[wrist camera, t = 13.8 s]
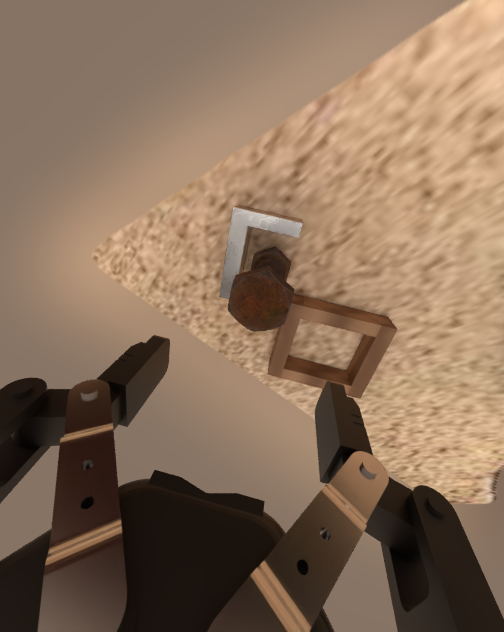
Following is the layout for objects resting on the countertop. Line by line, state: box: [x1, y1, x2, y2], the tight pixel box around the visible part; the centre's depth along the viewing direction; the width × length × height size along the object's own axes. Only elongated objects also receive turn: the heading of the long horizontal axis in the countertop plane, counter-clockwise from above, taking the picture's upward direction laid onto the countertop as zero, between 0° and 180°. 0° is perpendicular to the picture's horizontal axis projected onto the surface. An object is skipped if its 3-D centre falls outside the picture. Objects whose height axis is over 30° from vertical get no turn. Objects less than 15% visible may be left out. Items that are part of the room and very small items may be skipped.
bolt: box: [228, 247, 294, 331], centre depth 28 cm, size 6×5×15 cm
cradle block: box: [219, 205, 303, 299], centre depth 33 cm, size 8×11×4 cm
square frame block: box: [268, 294, 397, 398], centre depth 37 cm, size 14×12×4 cm
